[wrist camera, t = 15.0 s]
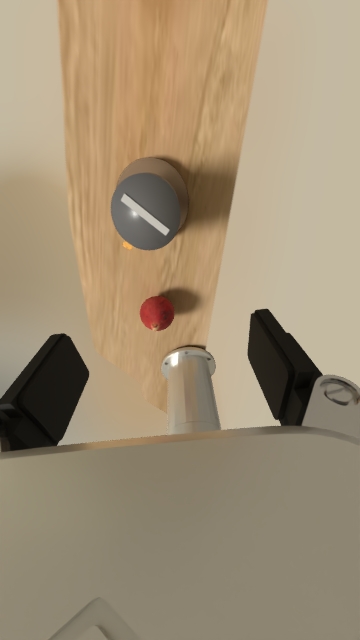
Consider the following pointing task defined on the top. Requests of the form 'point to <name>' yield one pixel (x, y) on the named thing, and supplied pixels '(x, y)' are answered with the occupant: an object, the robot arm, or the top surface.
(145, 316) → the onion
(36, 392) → the robot arm
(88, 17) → the top surface
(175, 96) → the top surface
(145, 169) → the post base
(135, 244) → the grey striped cylinder
